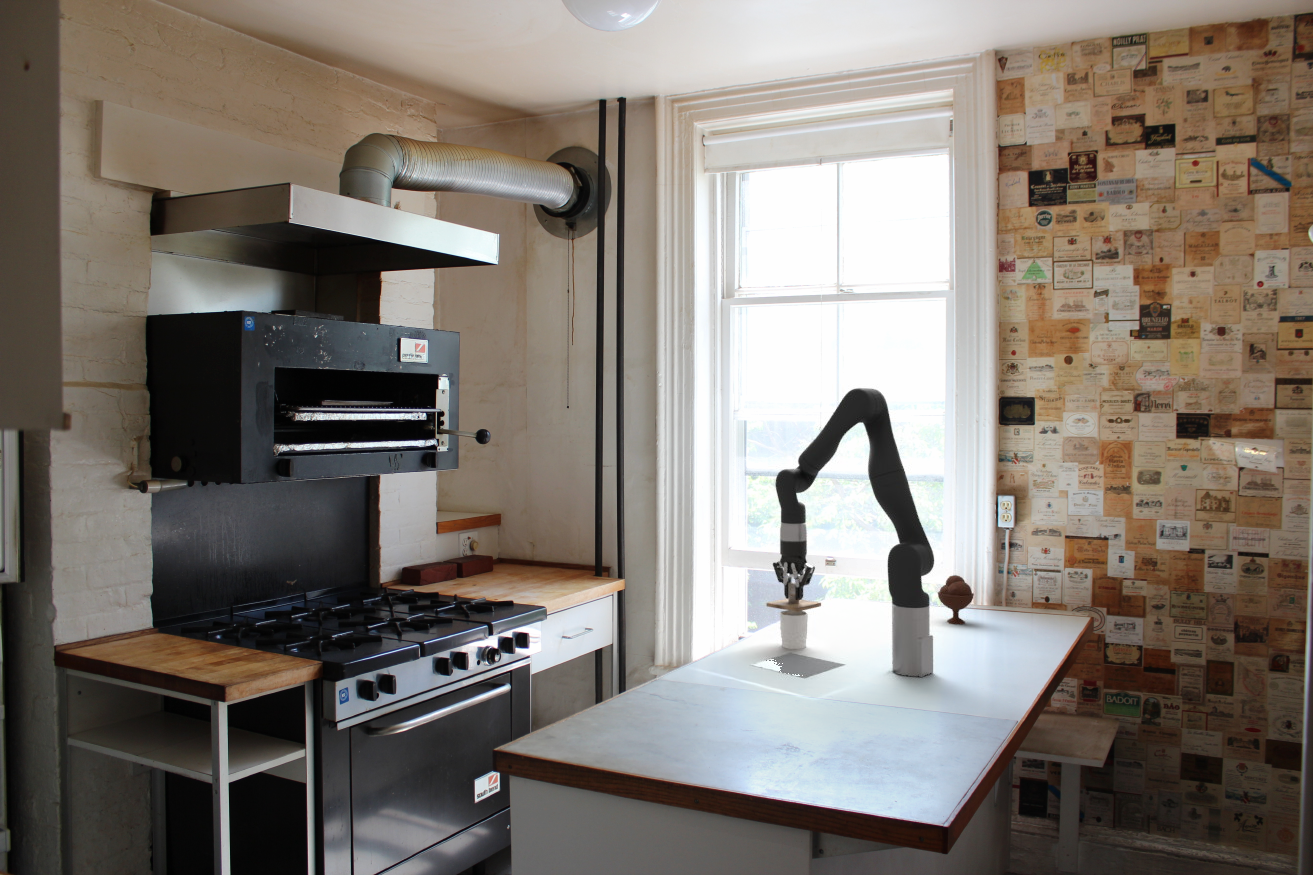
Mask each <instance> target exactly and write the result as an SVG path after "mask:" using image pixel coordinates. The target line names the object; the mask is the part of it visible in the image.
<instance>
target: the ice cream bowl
mask: <svg viewBox="0 0 1313 875" xmlns="http://www.w3.org/2000/svg"><path fill="white" fill-rule="evenodd" d="M974 594H975V593H973V592H972V588H971V586H970V585H969V584H968V583H967V582H966V581H965V580H964V578H963V577H961V576H960V575H957V574H955V575H954V574H953V575H950V576H949V577H948V578H946V581H945V584H944V585H943V586H941V587H940V589H939V591H938V592H937V596H938V599H939V601H940V603H941V604H943V605H944V606H945V607H947V609H950V610H951V611H952V617H950V618H949V619H947V621H946V623H947V624H949V625H951V624H952V625H965V623H966V622H965V620H964V619H962V618H960V615H959V612H960V611H961V610H964V609H965V608H967V607H968V606H969V605H970V604H971V603H972V601H973V599H974Z"/></svg>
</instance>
